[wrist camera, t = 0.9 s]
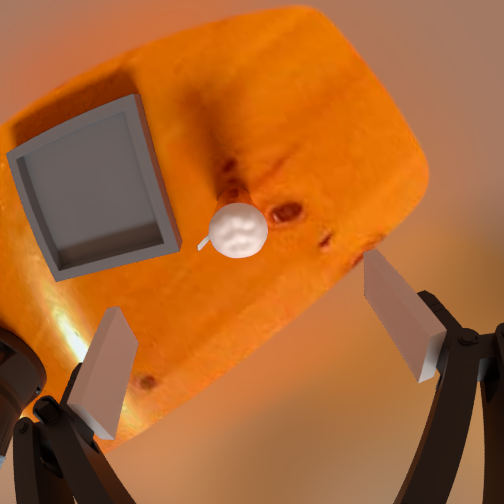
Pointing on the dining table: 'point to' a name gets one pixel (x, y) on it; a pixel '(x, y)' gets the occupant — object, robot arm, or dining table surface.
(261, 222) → the milkshake
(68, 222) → the slate tray
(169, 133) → the dining table surface
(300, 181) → the dining table surface
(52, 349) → the dining table surface
